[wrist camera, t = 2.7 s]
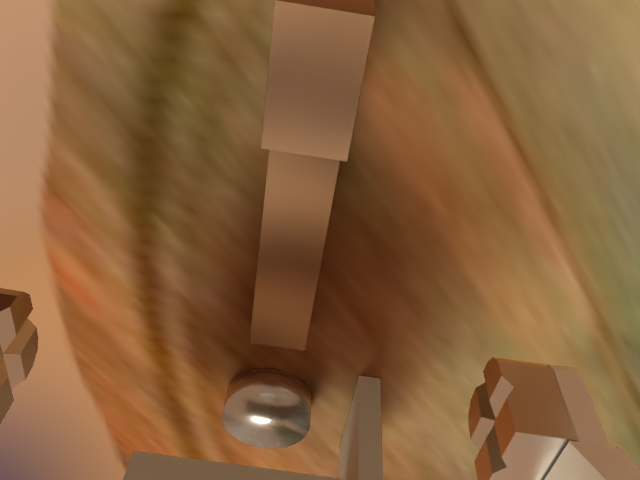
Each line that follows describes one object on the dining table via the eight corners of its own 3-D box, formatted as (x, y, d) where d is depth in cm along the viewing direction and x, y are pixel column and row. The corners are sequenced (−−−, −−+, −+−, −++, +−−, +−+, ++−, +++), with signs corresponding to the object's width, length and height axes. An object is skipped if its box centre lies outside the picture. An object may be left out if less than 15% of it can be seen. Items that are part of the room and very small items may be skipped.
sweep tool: (290, -37, 22) (274, -1, 18) (373, -23, 22) (374, 16, 18) (253, 314, 32) (239, 382, 29) (309, 322, 32) (302, 390, 29)
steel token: (270, 353, 34) (266, 381, 33) (329, 399, 36) (327, 427, 35) (211, 388, 36) (203, 416, 35) (269, 430, 38) (265, 458, 37)
